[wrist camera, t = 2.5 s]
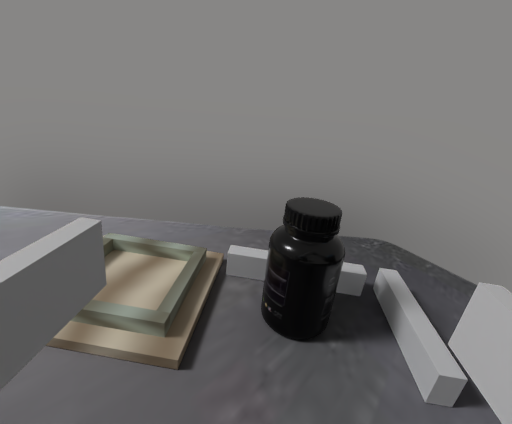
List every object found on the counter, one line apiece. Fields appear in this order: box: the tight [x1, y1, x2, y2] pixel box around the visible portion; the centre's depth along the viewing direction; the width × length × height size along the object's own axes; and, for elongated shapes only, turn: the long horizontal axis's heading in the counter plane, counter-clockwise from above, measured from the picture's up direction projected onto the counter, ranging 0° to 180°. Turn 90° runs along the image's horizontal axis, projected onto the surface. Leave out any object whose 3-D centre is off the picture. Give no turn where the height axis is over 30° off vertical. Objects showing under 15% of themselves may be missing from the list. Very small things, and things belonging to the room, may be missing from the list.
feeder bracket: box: [226, 245, 468, 407], centre depth 27 cm, size 20×14×3 cm
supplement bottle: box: [261, 197, 345, 340], centre depth 26 cm, size 7×7×12 cm
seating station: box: [46, 233, 224, 370], centre depth 29 cm, size 16×16×2 cm
